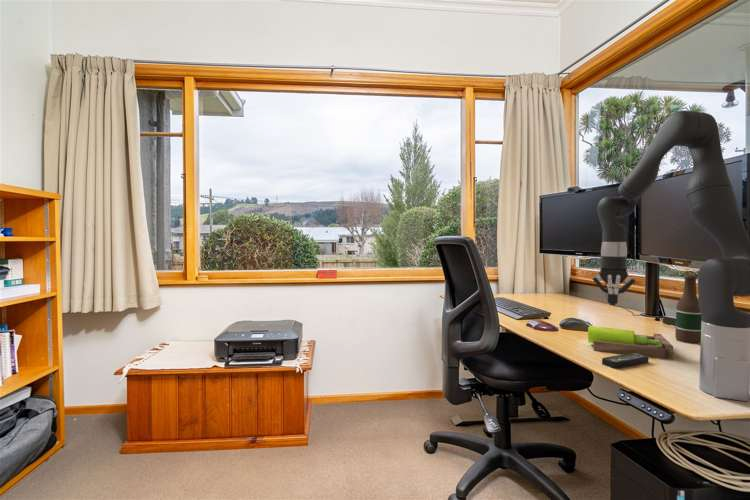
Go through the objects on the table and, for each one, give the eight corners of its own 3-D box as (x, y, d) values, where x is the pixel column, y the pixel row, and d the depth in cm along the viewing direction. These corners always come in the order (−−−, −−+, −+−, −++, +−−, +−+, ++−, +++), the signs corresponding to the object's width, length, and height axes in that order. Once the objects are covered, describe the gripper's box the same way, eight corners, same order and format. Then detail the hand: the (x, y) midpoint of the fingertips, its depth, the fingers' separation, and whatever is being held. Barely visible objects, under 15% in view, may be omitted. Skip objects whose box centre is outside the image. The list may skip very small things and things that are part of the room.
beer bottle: (707, 344, 134) (710, 276, 133) (682, 343, 135) (684, 276, 134) (693, 338, 141) (696, 274, 140) (670, 337, 143) (672, 273, 142)
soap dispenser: (588, 326, 131) (660, 334, 120) (589, 325, 137) (659, 333, 126) (587, 343, 131) (660, 353, 119) (589, 341, 136) (658, 351, 125)
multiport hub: (601, 365, 115) (601, 357, 114) (634, 359, 120) (634, 352, 120) (615, 370, 110) (615, 362, 110) (649, 364, 116) (649, 356, 115)
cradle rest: (672, 359, 119) (673, 346, 118) (593, 350, 128) (593, 338, 128) (660, 345, 133) (660, 334, 133) (589, 338, 142) (590, 327, 142)
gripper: (592, 255, 130) (591, 305, 131) (638, 256, 125) (637, 308, 125) (590, 253, 137) (589, 301, 138) (634, 254, 131) (633, 304, 132)
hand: (612, 304), depth 132 cm, fingers closed
